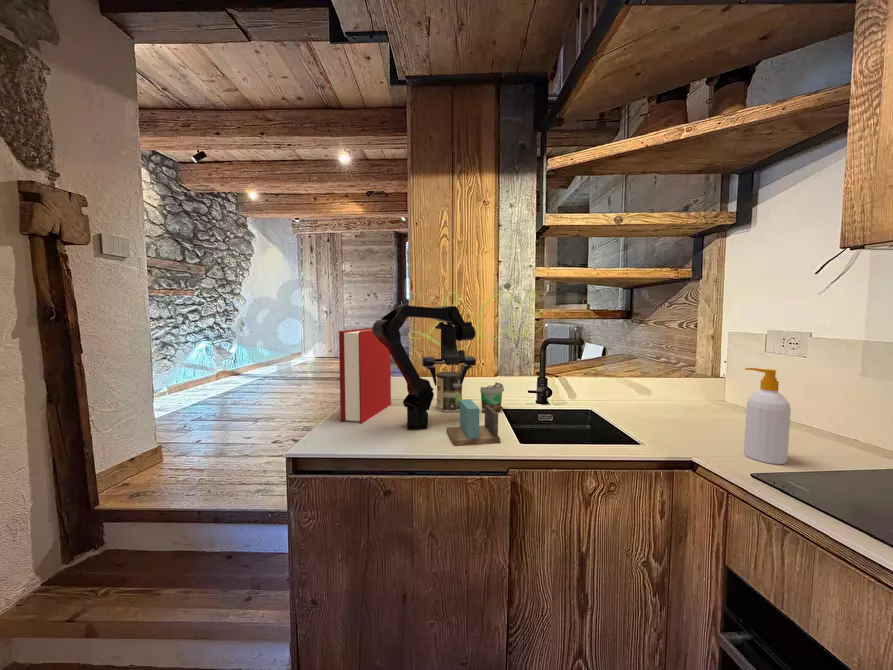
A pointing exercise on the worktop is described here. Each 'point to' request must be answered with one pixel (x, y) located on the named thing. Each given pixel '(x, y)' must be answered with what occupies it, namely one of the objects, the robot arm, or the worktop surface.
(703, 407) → the worktop surface
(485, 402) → the food container
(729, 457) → the worktop surface
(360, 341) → the book
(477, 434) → the teal book
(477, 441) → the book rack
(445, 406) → the coffee can
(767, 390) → the soap bottle
